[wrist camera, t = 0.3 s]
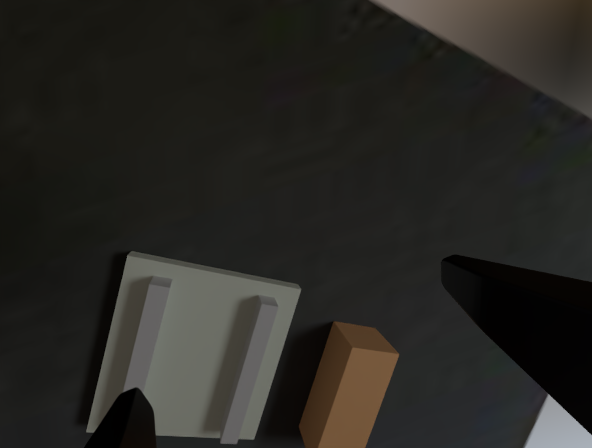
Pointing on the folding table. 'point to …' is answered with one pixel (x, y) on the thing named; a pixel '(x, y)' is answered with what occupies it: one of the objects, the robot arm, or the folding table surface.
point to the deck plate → (195, 346)
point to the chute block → (347, 388)
